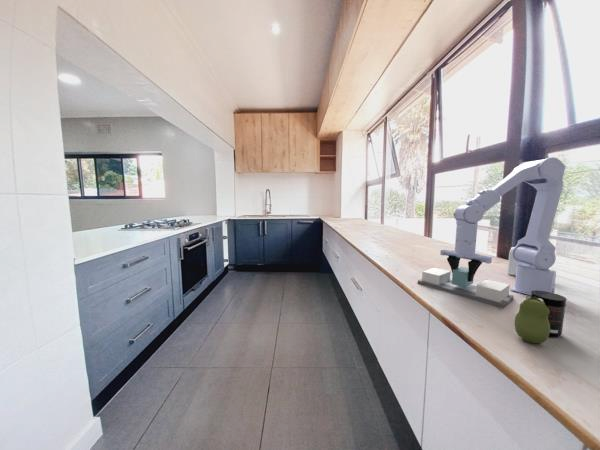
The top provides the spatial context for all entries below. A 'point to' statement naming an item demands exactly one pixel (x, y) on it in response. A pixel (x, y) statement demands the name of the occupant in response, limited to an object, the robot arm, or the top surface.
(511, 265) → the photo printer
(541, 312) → the pear
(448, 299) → the top surface
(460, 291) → the rail plate
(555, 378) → the top surface
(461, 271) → the module block
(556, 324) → the supplement container
